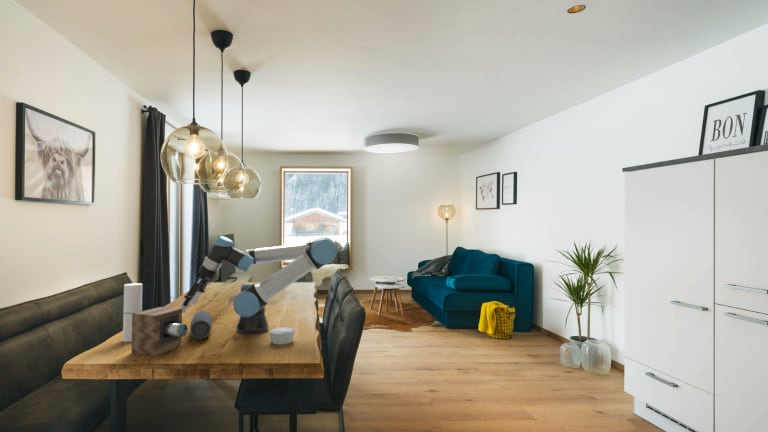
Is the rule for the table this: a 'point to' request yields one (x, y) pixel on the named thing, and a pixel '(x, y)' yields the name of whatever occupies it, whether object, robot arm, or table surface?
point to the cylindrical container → (131, 307)
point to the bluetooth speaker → (201, 324)
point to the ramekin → (281, 335)
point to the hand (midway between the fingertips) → (187, 307)
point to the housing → (154, 331)
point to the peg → (175, 329)
